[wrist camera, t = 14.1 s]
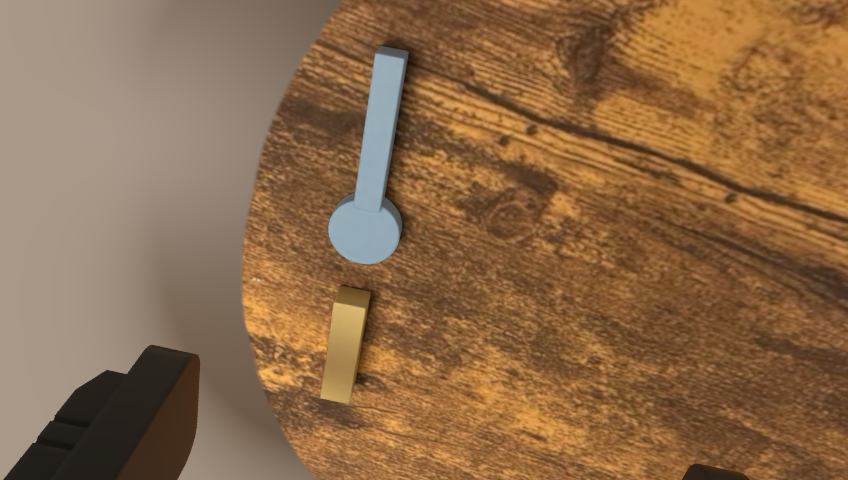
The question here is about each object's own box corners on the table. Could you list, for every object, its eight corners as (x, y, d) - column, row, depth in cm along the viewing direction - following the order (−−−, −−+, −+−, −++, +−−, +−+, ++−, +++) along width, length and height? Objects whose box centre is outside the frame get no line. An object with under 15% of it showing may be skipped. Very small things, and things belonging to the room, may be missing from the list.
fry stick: (340, 284, 39) (333, 302, 38) (371, 291, 39) (366, 308, 38) (326, 378, 43) (319, 398, 41) (354, 384, 43) (349, 404, 41)
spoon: (355, 40, 33) (348, 47, 31) (433, 56, 33) (431, 64, 31) (328, 246, 38) (322, 260, 37) (396, 259, 38) (392, 274, 37)
